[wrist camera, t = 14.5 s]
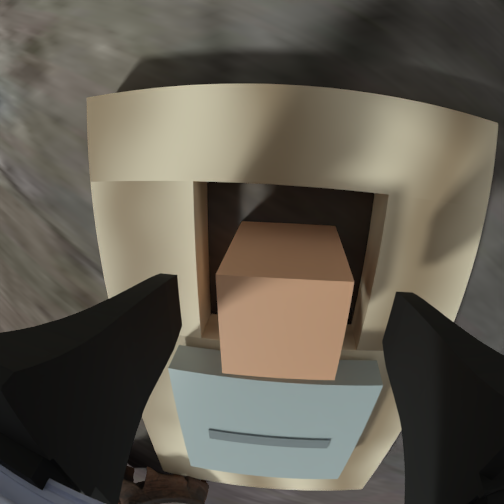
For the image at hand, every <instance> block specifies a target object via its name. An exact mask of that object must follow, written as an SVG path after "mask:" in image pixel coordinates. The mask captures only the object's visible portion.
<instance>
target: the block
mask: <svg viewBox="0 0 504 504" xmlns="http://www.w3.org/2000/svg"><path fill="white" fill-rule="evenodd" d="M353 287H354V279H353V276H352V273H351V270H350V267H349V264H348V261H347V258H346V255H345V252H344V249H343V246H342V243H341V241H340V238H339V235H338V232H337V229H336V226H330V225H312V224H293V223H271V222H247V221H242V222H241V224H240V226H239V228H238V230H237V232H236V234H235V236H234V238H233V240H232V242H231V244H230V246H229V248H228V250H227V252H226V254H225V256H224V258H223V260H222V262H221V264H220V266H219V269H218V271H217V273H216V289H217V306H218V322H219V337H220V350H221V364H222V373H226V374H235V375H246V376H257V377H270V378H286V379H306V380H335V376H336V372H337V368H338V364H339V359H340V355H341V350H342V345H343V341H344V336H345V331H346V326H347V320H348V315H349V310H350V304H351V299H352V293H353Z"/></svg>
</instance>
